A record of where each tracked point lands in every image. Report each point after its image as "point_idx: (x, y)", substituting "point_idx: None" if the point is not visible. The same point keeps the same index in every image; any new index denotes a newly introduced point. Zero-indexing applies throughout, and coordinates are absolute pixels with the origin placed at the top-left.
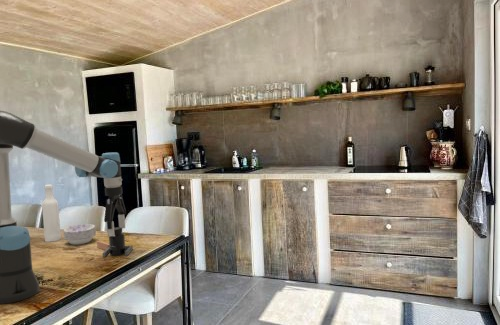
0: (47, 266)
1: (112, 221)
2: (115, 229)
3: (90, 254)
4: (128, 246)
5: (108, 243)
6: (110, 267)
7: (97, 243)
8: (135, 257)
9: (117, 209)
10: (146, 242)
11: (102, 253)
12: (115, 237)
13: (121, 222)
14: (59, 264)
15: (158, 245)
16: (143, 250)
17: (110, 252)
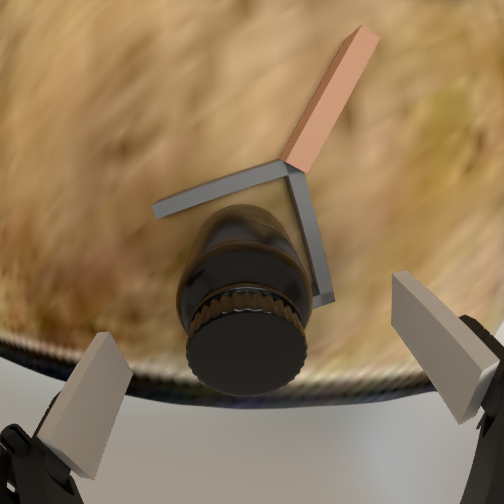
0: (23, 31)
1: (82, 474)
2: (204, 370)
3: (205, 73)
4: (318, 286)
5: (324, 139)
6: (68, 325)
7: (354, 33)
8: None
9: (488, 481)
10: (441, 285)
11: (151, 205)
12: (186, 333)
13: (420, 335)
14: (41, 53)
15: (386, 363)
16: (314, 346)
17: (199, 231)
